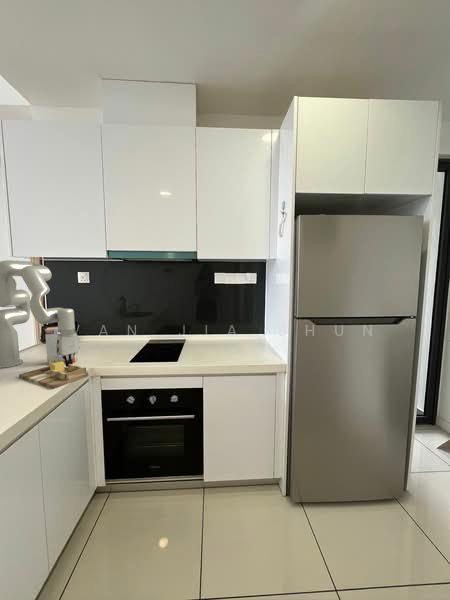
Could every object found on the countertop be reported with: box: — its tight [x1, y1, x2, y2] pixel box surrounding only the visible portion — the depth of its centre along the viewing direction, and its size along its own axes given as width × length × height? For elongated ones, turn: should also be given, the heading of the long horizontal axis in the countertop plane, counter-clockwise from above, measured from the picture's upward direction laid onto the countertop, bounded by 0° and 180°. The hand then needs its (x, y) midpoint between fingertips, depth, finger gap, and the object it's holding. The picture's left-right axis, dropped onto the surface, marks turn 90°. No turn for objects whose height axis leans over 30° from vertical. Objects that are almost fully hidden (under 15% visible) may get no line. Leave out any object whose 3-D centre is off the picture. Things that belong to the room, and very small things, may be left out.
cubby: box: [49, 364, 87, 381], centre depth 131 cm, size 13×10×3 cm
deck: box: [18, 365, 89, 390], centre depth 133 cm, size 29×17×2 cm, turn 62°
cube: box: [49, 361, 65, 372], centre depth 136 cm, size 4×4×4 cm
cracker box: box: [44, 326, 78, 366], centre depth 154 cm, size 14×6×21 cm, turn 108°
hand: (69, 366), depth 141 cm, fingers closed
